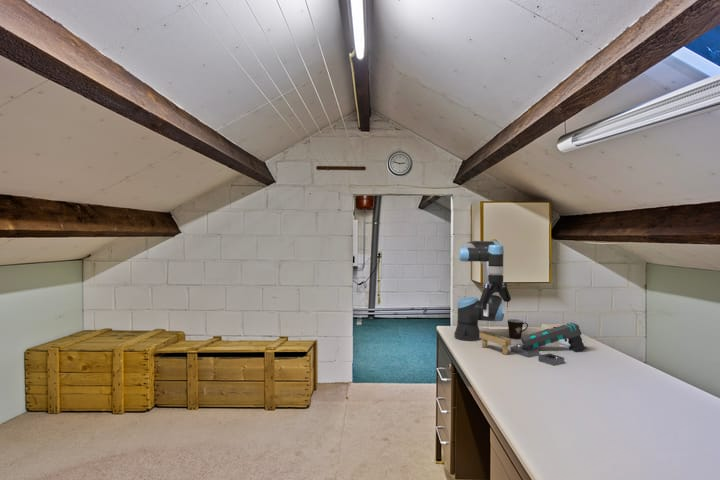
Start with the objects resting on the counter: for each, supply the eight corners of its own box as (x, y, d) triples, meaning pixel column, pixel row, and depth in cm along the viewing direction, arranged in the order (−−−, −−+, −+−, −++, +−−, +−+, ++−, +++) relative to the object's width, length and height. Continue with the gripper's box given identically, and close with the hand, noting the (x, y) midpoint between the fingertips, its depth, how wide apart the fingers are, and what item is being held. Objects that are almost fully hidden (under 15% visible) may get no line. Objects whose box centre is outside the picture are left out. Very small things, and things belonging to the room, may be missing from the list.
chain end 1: (510, 351, 211) (510, 344, 211) (521, 349, 215) (521, 343, 215) (528, 357, 202) (528, 350, 201) (539, 355, 205) (539, 348, 205)
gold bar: (479, 346, 220) (479, 332, 220) (484, 346, 222) (484, 331, 222) (505, 355, 204) (505, 339, 204) (511, 354, 206) (511, 339, 206)
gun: (587, 349, 210) (578, 321, 210) (532, 366, 211) (523, 338, 211) (581, 345, 217) (572, 319, 217) (527, 362, 218) (519, 335, 218)
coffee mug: (507, 338, 237) (507, 321, 237) (507, 335, 245) (507, 318, 245) (529, 340, 233) (529, 323, 233) (527, 336, 242) (527, 320, 242)
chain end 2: (538, 360, 196) (538, 354, 196) (549, 358, 200) (549, 352, 200) (553, 365, 189) (553, 358, 189) (564, 363, 193) (564, 356, 193)
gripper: (483, 276, 203) (483, 318, 204) (518, 273, 215) (518, 314, 215) (472, 274, 210) (472, 315, 210) (507, 272, 222) (506, 311, 222)
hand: (495, 315), depth 213 cm, fingers open, 13 cm apart
